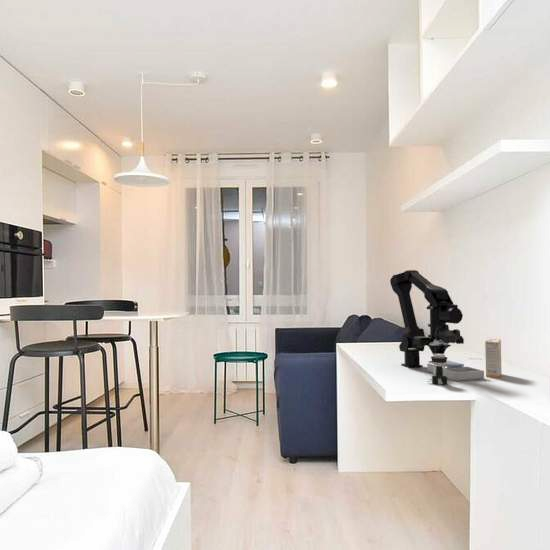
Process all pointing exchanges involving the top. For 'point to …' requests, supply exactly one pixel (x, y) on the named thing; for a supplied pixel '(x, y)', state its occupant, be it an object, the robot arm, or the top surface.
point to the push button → (439, 369)
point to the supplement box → (493, 358)
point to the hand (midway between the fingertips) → (438, 362)
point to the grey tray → (460, 373)
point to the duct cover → (450, 363)
